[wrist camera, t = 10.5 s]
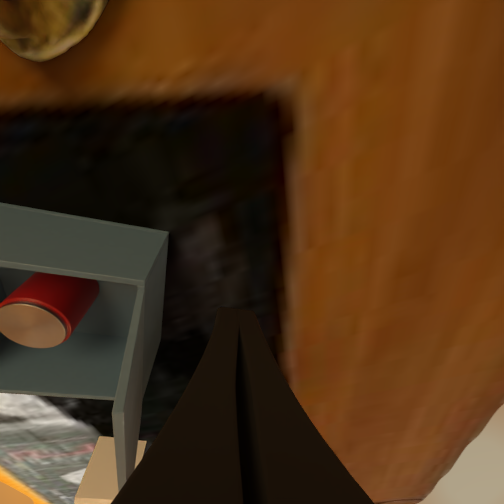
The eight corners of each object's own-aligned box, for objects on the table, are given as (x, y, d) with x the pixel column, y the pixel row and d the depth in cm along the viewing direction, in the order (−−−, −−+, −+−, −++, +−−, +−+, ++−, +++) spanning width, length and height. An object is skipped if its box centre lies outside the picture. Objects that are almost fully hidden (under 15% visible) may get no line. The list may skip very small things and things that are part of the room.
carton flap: (137, 289, 13) (145, 289, 13) (136, 411, 19) (141, 410, 19) (111, 413, 8) (123, 412, 8) (121, 526, 14) (128, 525, 14)
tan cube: (99, 435, 33) (74, 497, 28) (146, 440, 35) (131, 500, 29) (95, 456, 36) (72, 516, 31) (139, 460, 37) (124, 517, 32)
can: (101, 307, 22) (72, 353, 18) (43, 300, 21) (0, 346, 17) (97, 265, 19) (63, 306, 16) (33, 255, 19) (-20, 297, 15)
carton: (168, 231, 19) (145, 281, 14) (160, 339, 25) (141, 402, 19) (-27, 197, 17) (-140, 241, 12) (15, 324, 22) (-49, 389, 17)
